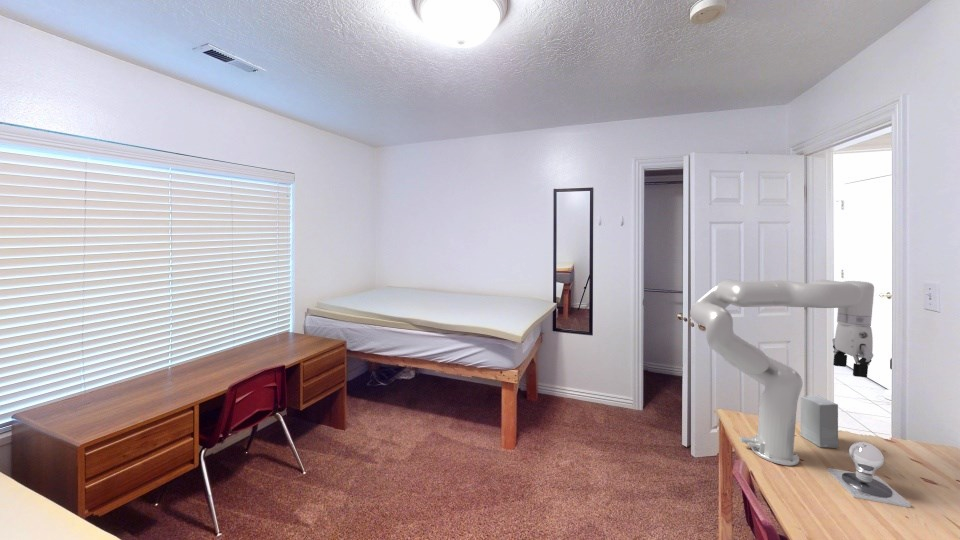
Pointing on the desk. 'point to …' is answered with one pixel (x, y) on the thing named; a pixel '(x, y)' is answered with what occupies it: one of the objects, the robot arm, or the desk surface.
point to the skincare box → (819, 421)
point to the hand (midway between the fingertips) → (849, 371)
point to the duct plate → (868, 488)
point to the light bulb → (865, 460)
